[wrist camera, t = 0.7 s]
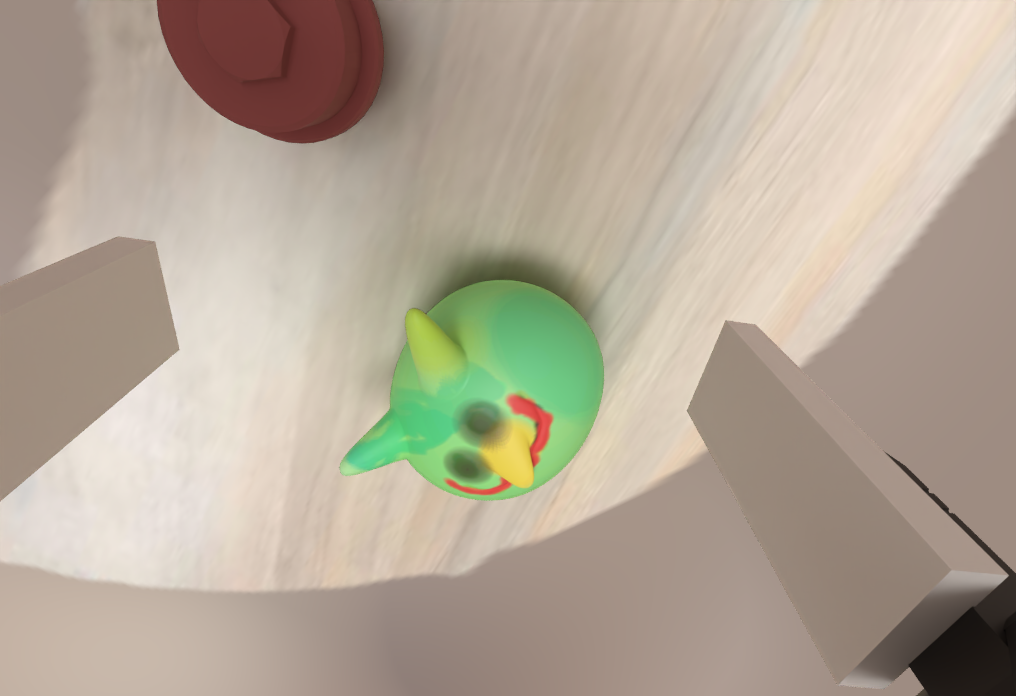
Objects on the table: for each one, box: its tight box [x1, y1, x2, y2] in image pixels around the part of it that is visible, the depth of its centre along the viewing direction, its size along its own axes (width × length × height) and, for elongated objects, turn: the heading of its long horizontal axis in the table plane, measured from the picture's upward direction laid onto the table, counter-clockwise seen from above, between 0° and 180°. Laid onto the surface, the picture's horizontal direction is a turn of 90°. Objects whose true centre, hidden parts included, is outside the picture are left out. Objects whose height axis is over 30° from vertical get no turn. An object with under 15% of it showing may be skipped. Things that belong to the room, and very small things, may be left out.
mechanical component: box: [157, 0, 384, 143], centre depth 26 cm, size 12×10×10 cm
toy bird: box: [339, 280, 604, 500], centre depth 36 cm, size 18×17×15 cm
